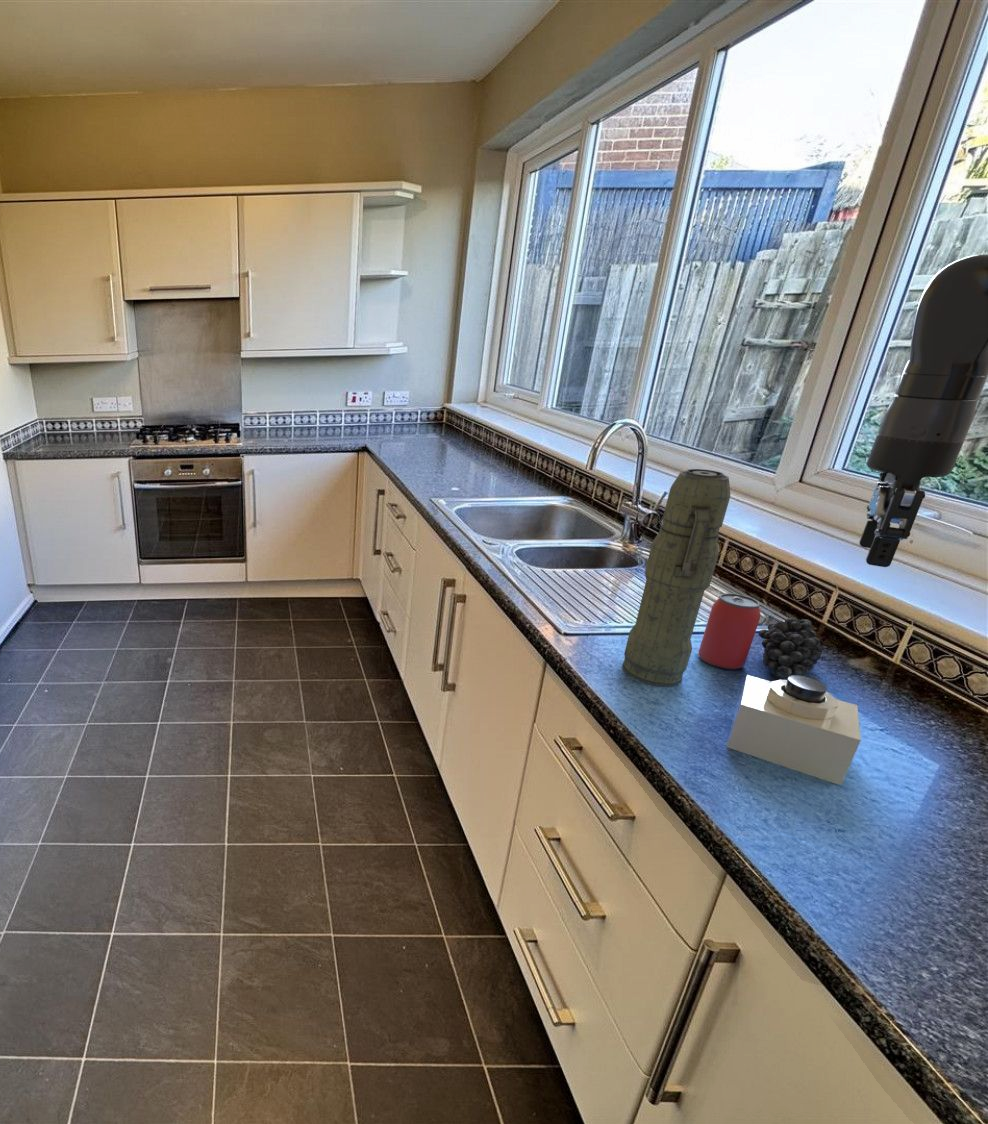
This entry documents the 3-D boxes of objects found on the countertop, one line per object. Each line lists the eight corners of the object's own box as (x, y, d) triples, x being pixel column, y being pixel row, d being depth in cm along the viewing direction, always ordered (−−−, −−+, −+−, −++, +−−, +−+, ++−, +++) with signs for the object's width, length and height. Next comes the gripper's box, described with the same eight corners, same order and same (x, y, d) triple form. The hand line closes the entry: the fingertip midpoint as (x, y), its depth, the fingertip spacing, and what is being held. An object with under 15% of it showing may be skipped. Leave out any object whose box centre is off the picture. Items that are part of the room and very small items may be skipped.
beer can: (738, 656, 110) (757, 595, 106) (748, 674, 105) (769, 611, 100) (693, 649, 113) (711, 589, 108) (701, 666, 107) (720, 604, 103)
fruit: (813, 643, 96) (822, 611, 105) (745, 641, 102) (759, 611, 112) (819, 695, 97) (827, 658, 107) (752, 690, 103) (765, 655, 113)
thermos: (670, 660, 109) (724, 465, 96) (692, 696, 99) (756, 483, 86) (614, 652, 112) (659, 462, 99) (629, 686, 102) (682, 479, 89)
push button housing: (839, 748, 86) (862, 693, 83) (841, 786, 80) (866, 728, 76) (733, 715, 94) (750, 664, 91) (726, 747, 87) (744, 693, 84)
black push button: (821, 695, 84) (827, 682, 83) (822, 708, 81) (827, 694, 80) (783, 684, 86) (788, 671, 85) (782, 696, 83) (787, 684, 83)
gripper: (979, 446, 69) (922, 579, 75) (952, 429, 79) (904, 547, 85) (885, 439, 73) (838, 565, 79) (872, 424, 84) (831, 536, 90)
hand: (872, 555), depth 82 cm, fingers open, 8 cm apart
